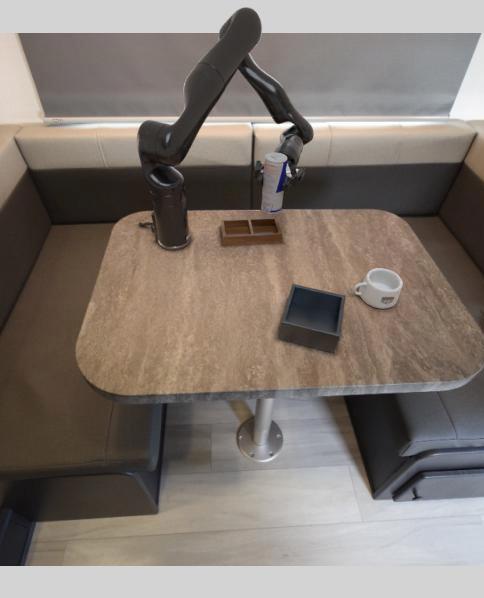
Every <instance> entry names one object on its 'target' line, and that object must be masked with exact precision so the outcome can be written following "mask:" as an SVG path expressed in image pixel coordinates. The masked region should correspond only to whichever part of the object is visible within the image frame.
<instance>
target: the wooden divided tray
mask: <svg viewBox="0 0 484 598" xmlns="http://www.w3.org/2000/svg"><path fill="white" fill-rule="evenodd" d="M220 229H221V230H220V231H221V238H222V245H223V246H238V245H258V244H259V245H261V244H278V243H282V240H283V233H282V230H281V226H280V223H279V221H278V218H277V217H276V216H273V217H254V218H253V217H252V218H231V219H229V218H228V219H220Z"/></svg>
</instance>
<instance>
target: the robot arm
mask: <svg viewBox="0 0 484 598" xmlns="http://www.w3.org/2000/svg"><path fill="white" fill-rule="evenodd" d="M262 35H263V23H262V18H261V16H260V15H259V13H258V12H257V11H256V10H255V9H253V8H252V7H248V6H245V7H241V8H239V9H237V10H236V11H235V12H233V13H232V14H231V16H229V18H228V19H226V21H225V22H224V23H223V24H222V25H221V27H220V29H219V31H218V42H216V43H214V45H213V46H212V47H211V48H210V49H209V50H208V51H207V52H206V53H205V54H204V55H203V56H202V57H201V58H200V59H199V61H198V62H197V63H196V64H195V65H194V66H193V68H192V70H191V71H190V73H189V74H188V75H187V77H186V78H185V81H184V83H183V93H182V95H183V105H184V107H183V111H182V112H181V114H180V116H179V118H177V120H176V121H175V122H174V123H168V122H163V121H158V120H154V119H147V120H144V121H143V122H142V123H141V124H140V125H139V127H138V130H137V133H136V147H137V148H136V149H137V152H138V153H137V154H138V158H139V162H140V166H141V169H142V175H143V178H144V180H145V182H146V183H147V185H148V189H149V190H148V191H149V194H150V201H151V206H152V212H151V215H150V216H151V222H149V221H147V222H141V221H140V222H139V223H138V226H140V227H146V226H150V231H151V233H152V234H154V237H155V242H157V243H158V244H159V246H160V247H161V248H163V249H166V250H169V251H177V250H181V249H184V248H185V247H187V246H188V245H189V244H190V243H191V232H190V228H189V227H190V225H189V216H188V205H187V197H186V188H185V187H186V186H185V185H186V184H185V179H184V175H183V174H182V173H181V172H180V171H179V170H178V169H176V168H175V167H177V166H179V165H181V163H183V161H184V160H185V159H186V157H187V155H188V153H189V152H190V150H191V148H192V146H193V144H194V142H195V140H196V138H197V136H198V135H199V132H200V130H201V128H202V127H203V125H204V123H205V122H206V120H207V119H208V117H209V115H210V114H211V112H212V110H213V109H214V108H215V106H216V105H217V104H218V103H219V101H220V99H221V98H222V96H223V95H224V94H225V92H226V90H227V89H228V87H229V85H230V83H231V82H232V80H233V79H234V77H235V75H236V73H237V72H238V71H239V73H240V74H241V75H242V76H243V78H244V79H245V80H246V81H247V83H248V84H249V86H251V87H252V89H253V90H254V92H255V93H256V94H257V95H258V97H259V99H260V100H261V102H262V103H263V105H264V107H265V108H266V110H267V111H268V113H269V115H270V117H271V119H272V120H273V122H274V123H275V124H276V125H281V124H284V123H291V124H292V125H290V126H289V127H288V128H286V129H284V130H283V131H282V132H280V134H279V144H278V145H277V146H276V148H275V149H274V151H273V152H275V153H282V154H284V155H286V156H287V168H286V176H285V180H284V182H283V186H282V191H284V192H285V191H288V190H289V188H290V187H291V185H293V186H295V187H298V186H299V184H300V183H301V182H302V181H303V180H304V178H305V174H306V168H305V167H300V168H297V167H298V164H299V163H300V159H301V155H302V153H303V149H304V146H306V145H308V144H309V143H310V142H312V141H313V139H314V135H315V132H314V128H313V127H312V124H311V123H310V122H309V121H308V119H306V118H305V117H304V116H303V115H302V114H301V113H300V112H299V111H298V110H297V108H296V107H295V106H294V105H293V103H292V101H291V99H290V97H289V95H288V93H287V92H286V90H285V88H284V87H283V85H282V84H281V83H280V82H279V81H278V80H277V79H276V78H274V77H273V76H271V75H270V74H268V73H267V72H265V71H264V70H263V69H262V68H260V66H259V65H258V64H257V63H256V61H255V60H254V58H253V56H252V55H251V52H252V50H253V49H255V47H256V46H257V45H258V44H259V43H260V41H261V39H262ZM253 174H254V175H253V176H254V177H253V179H254V180H256V185H257V186H258V188H263V177H264V163H263V162H262V161H261V160H256V161H255V166H254V173H253Z"/></svg>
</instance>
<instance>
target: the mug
mask: <svg viewBox="0 0 484 598" xmlns="http://www.w3.org/2000/svg"><path fill="white" fill-rule="evenodd" d="M403 285H404V283H403V279H402V277H401V276H400V275H399V274H398V273H396V272H395V271H393V270H391V269H388V268H383V267H376V268H373V269H370V270H369V271H368V272H367V273H366V275H365V277H364V279H363V280H362V282H358V283H357V284H355V285H354V286H353V288H352V293H353V294H354V295H356V296H359V297H360V298H361V300H362V301H363V302H364V303H365V304H367V305H368V306H370V307H373V308H374V309H375V308H376V309H379V310H380V309H381V310H385V309H390V308H393V307H394V306H395V305H396V304H397V303H398V300H399V299H400V294H401V292H402V289H403ZM357 289H358V291H357Z"/></svg>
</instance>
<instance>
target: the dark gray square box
mask: <svg viewBox="0 0 484 598" xmlns="http://www.w3.org/2000/svg"><path fill="white" fill-rule="evenodd" d="M345 304H346V295H344V294H341V293H340V294H339V293H335V292H330V291H326V290H321V289H318V288H313V287H308V286H304V285H300V284H295V283H292V284H291V287H290V291H289V294H288V297H287V300H286V305H285V307H284V311H283V313H282V316H281V320H280V324H279V332H278V338H277V339H278V340H280V341H283V342H284V341H285V342H288V343H292V344H296V345H300V346H303V347H308V348H311V349H316V350H318V351H322V352H327V353H331V354H334V353H335V351H336V348H337V346H338V343H339V340H340V337H341V331H342V325H343V318H344V311H345Z"/></svg>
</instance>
